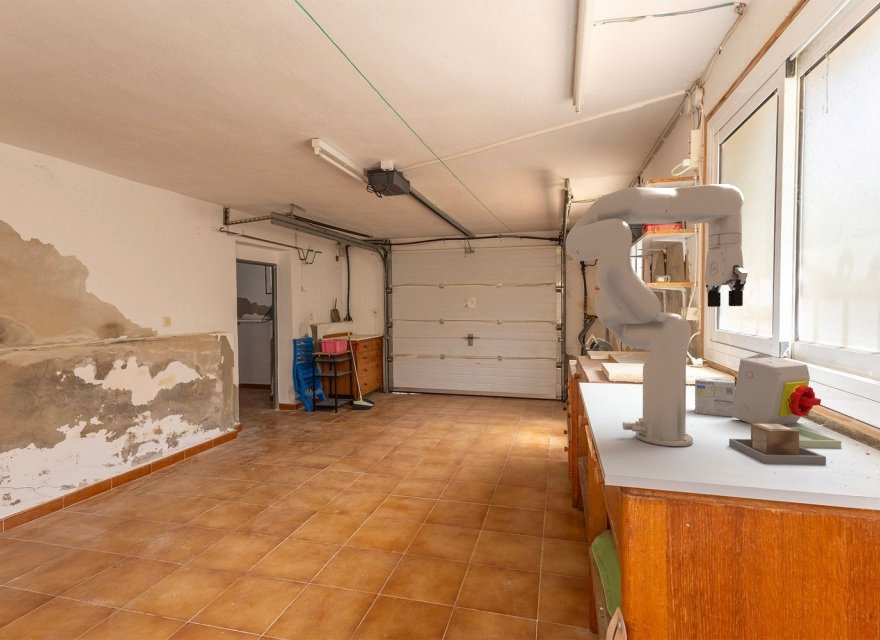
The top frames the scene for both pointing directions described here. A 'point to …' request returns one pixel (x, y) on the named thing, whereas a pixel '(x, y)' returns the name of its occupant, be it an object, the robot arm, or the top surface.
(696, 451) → the top surface
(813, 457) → the grey tray
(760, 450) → the letter block
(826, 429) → the top surface
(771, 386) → the electrical switch box
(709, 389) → the light bulb box
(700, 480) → the top surface
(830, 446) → the green tray
